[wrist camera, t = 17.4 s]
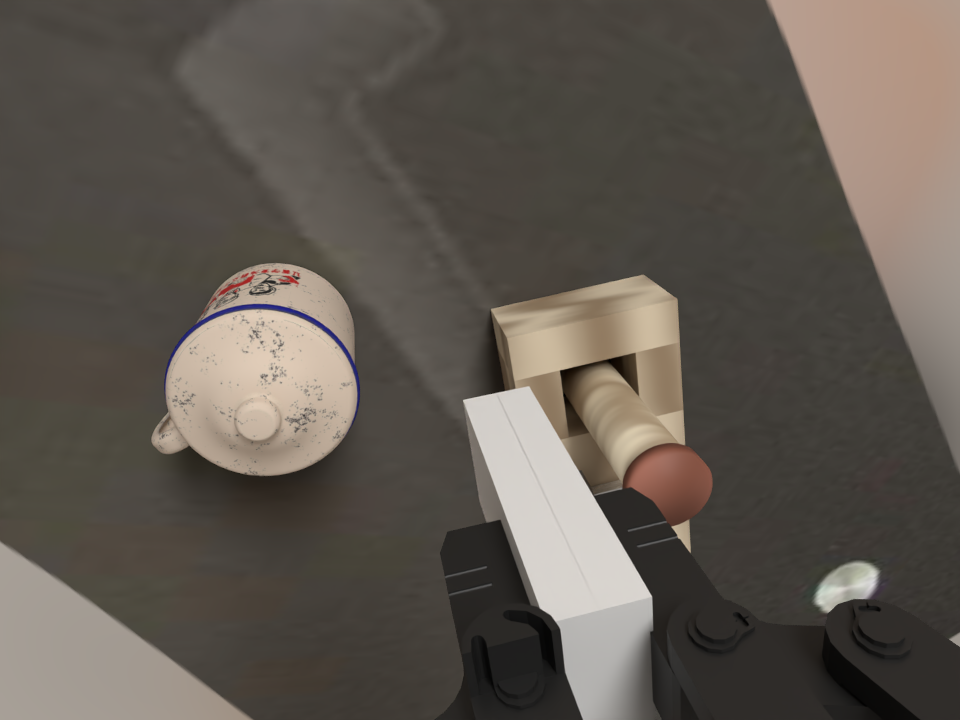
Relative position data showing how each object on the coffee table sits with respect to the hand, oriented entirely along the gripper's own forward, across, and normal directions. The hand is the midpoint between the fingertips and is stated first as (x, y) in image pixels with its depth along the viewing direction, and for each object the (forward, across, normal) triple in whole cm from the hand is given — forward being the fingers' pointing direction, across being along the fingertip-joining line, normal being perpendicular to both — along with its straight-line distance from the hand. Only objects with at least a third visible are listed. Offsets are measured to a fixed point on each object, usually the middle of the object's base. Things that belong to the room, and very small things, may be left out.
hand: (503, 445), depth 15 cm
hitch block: (+26, +10, -18) cm, 33 cm away
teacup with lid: (+27, -10, -6) cm, 29 cm away
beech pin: (+26, +9, -12) cm, 30 cm away
